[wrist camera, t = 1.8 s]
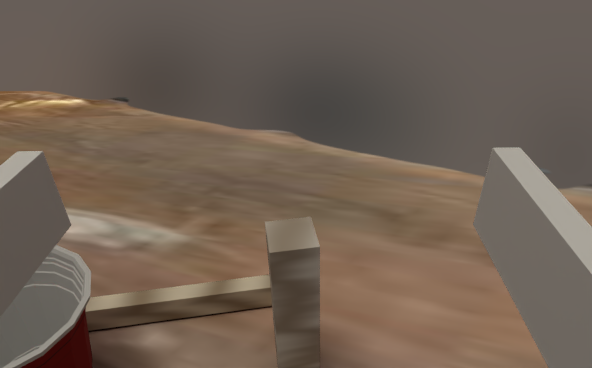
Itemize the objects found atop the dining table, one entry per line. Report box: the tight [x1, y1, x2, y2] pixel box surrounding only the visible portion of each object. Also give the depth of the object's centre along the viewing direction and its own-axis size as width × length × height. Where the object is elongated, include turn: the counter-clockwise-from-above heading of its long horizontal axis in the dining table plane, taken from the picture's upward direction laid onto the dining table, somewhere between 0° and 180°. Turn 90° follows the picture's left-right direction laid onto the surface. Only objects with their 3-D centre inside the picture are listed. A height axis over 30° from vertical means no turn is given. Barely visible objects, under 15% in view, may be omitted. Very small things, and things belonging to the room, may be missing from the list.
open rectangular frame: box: [85, 217, 320, 368], centre depth 29 cm, size 28×17×14 cm, turn 99°
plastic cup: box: [0, 245, 92, 368], centre depth 29 cm, size 11×11×12 cm
